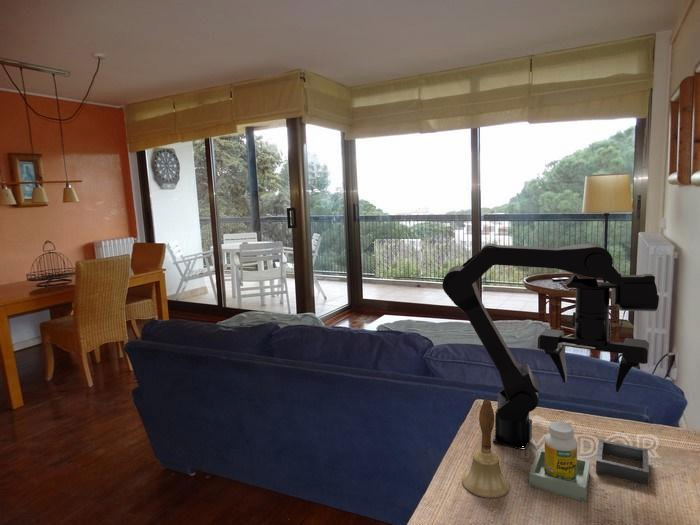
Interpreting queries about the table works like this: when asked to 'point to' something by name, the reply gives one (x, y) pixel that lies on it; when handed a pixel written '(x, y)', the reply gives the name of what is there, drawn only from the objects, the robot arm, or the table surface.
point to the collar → (620, 469)
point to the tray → (559, 485)
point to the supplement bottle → (561, 452)
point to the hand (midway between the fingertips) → (590, 386)
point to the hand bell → (486, 462)
